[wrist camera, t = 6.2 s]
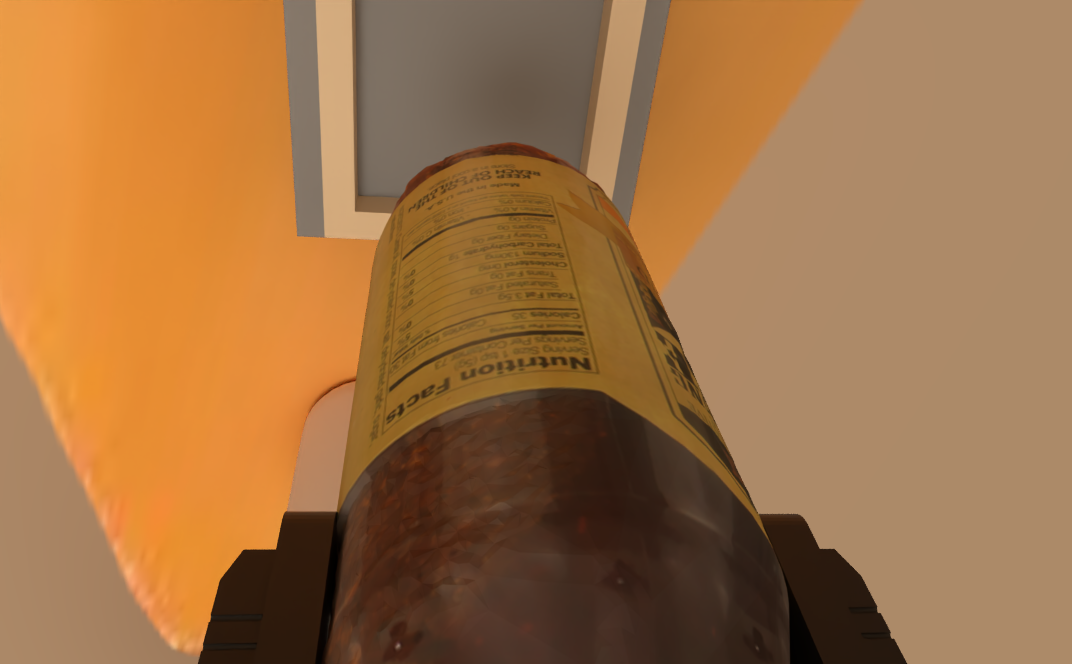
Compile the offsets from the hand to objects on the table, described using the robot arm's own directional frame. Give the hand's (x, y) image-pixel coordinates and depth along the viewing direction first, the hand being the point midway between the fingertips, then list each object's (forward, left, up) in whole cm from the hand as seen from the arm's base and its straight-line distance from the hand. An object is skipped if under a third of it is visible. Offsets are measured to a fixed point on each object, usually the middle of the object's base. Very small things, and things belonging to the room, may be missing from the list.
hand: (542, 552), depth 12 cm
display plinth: (0, 0, -27) cm, 27 cm away
